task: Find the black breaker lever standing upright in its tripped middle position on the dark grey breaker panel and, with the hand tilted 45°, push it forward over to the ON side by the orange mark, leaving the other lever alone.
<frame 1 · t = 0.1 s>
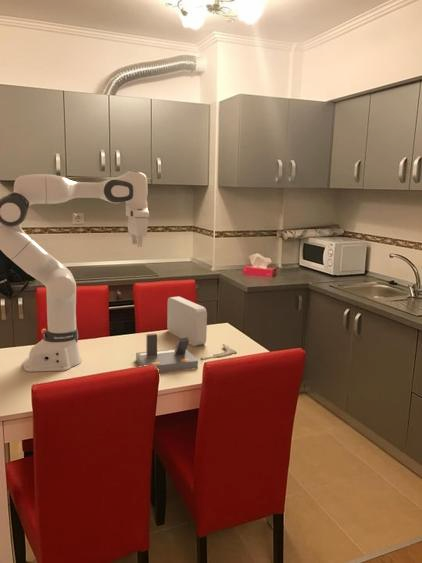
hand: (136, 245, 191), 48 cm above the table, tool pointing down, fingers open, 8 cm apart
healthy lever: (181, 346, 191), point 7 cm above the table, hinge at 35.0°
tripped lever: (151, 345, 189), point 8 cm above the table, hinge at 0.0°
breaker panel: (166, 363, 192), on the table
light grey rounded box: (185, 338, 225), on the table
jawbone: (214, 354, 206), on the table
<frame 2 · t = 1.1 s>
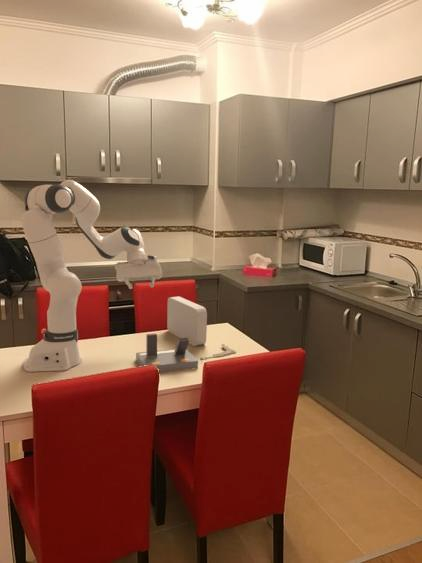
hand: (141, 287, 203), 28 cm above the table, tool tilted 45°, fingers open, 8 cm apart
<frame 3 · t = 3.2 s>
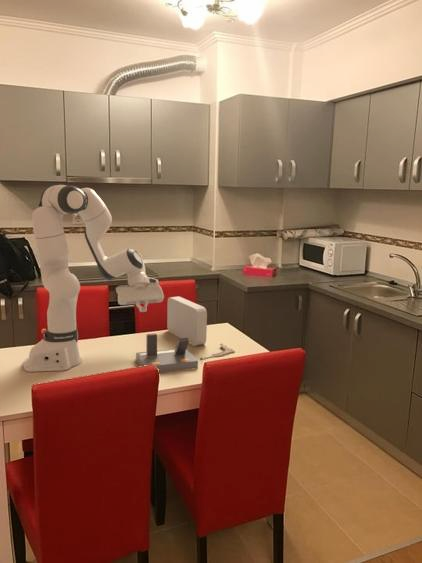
hand: (143, 311, 201), 19 cm above the table, tool tilted 45°, fingers closed
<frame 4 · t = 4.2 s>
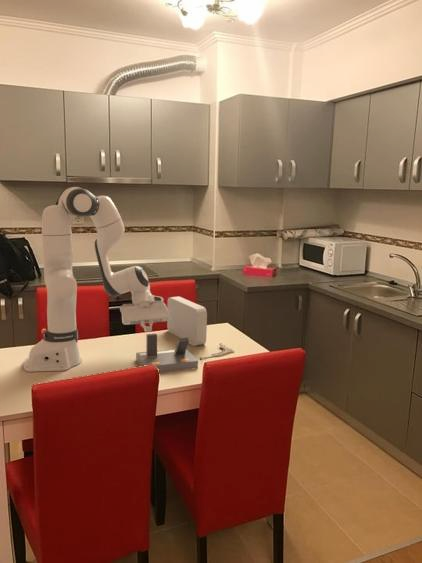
hand: (148, 331, 194), 12 cm above the table, tool tilted 45°, fingers closed
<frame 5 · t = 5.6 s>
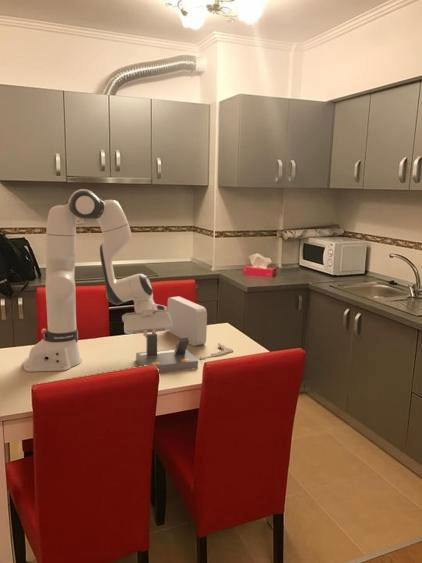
hand: (151, 340, 190), 10 cm above the table, tool tilted 45°, fingers closed, pressing on tripped lever
tripped lever: (151, 345, 189), point 8 cm above the table, hinge at 1.1°, touching gripper
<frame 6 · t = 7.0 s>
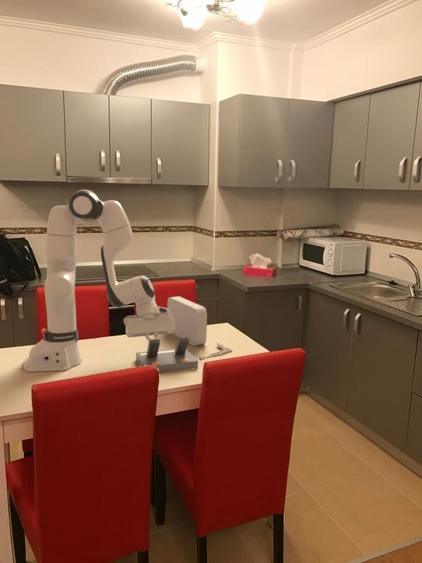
hand: (153, 344, 186), 10 cm above the table, tool tilted 45°, fingers closed, pressing on tripped lever
tripped lever: (153, 349, 187), point 8 cm above the table, hinge at 32.3°, touching gripper
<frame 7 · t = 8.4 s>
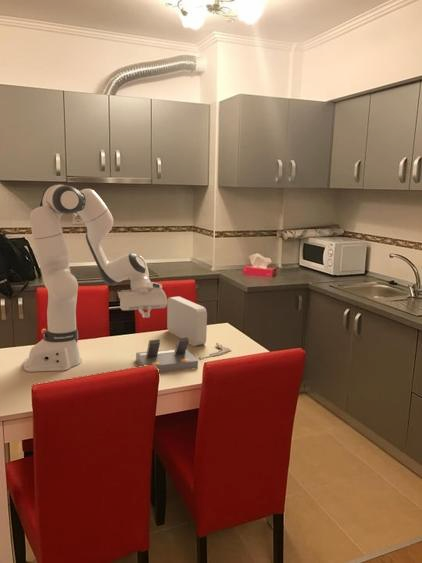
hand: (146, 316, 195), 18 cm above the table, tool tilted 45°, fingers closed
tripped lever: (153, 349, 187), point 7 cm above the table, hinge at 32.5°
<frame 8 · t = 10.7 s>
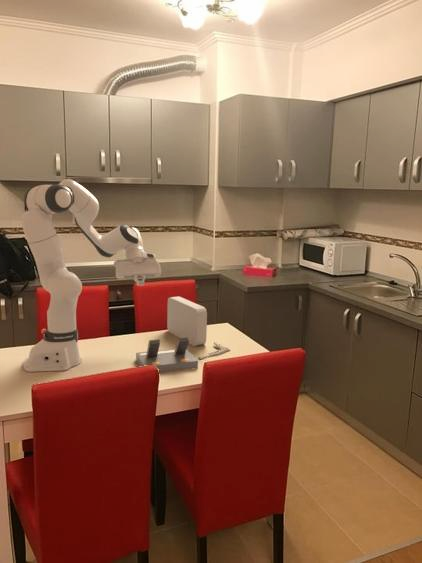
hand: (141, 284, 203), 29 cm above the table, tool tilted 45°, fingers closed
at the end: tripped lever at +32° (first picture: +0°); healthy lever at +35° (first picture: +35°) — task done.
